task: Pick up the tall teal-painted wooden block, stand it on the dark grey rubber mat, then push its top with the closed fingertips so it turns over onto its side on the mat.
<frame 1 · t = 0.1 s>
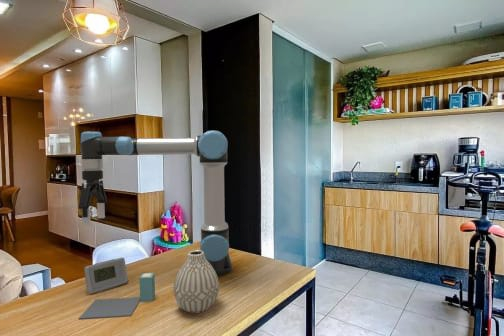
hand: (94, 221, 122), 28 cm above the table, fingers open, 13 cm apart
vase: (197, 307, 107), on the table
block: (147, 298, 114), on the table
mat: (112, 308, 107), on the table
digital clock: (107, 288, 124), on the table
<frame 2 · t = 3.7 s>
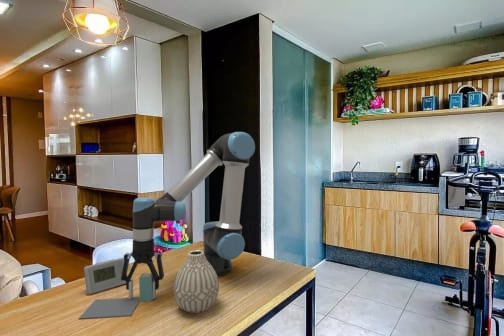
hand: (142, 297, 114), 1 cm above the table, fingers open, 8 cm apart
block: (147, 298, 114), on the table, touching gripper
everything else where it was.
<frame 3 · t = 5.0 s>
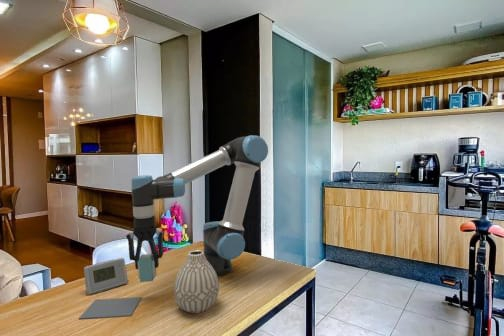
hand: (147, 276, 114), 8 cm above the table, fingers closed on block, 4 cm apart
block: (147, 279, 114), point 7 cm above the table, touching gripper
everything else where it was.
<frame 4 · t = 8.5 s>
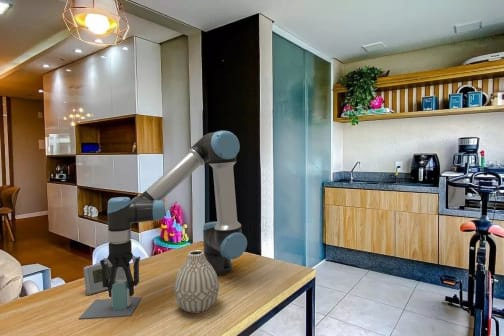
hand: (121, 304, 107), 1 cm above the table, fingers closed on block, 4 cm apart
block: (121, 306, 107), resting on mat, touching gripper
everything else where it was.
when the fingers open (1 cm above the table, at t = 8.5 s): block stays where it is, resting on mat.
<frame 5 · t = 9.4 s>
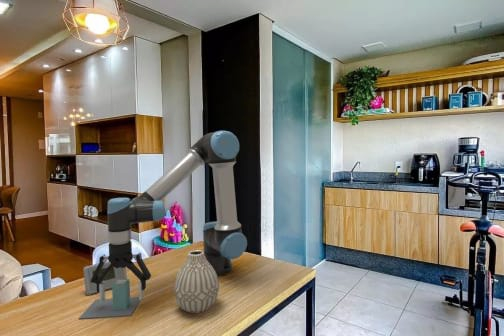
hand: (122, 299, 107), 3 cm above the table, fingers open, 13 cm apart
block: (121, 306, 107), resting on mat
everything else where it was.
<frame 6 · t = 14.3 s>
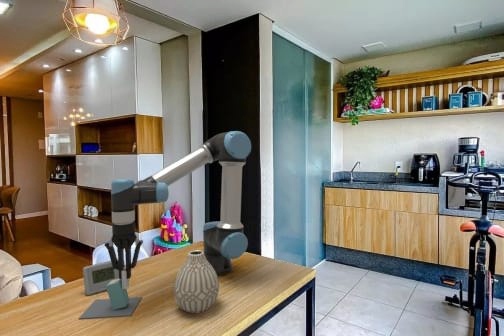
hand: (125, 287, 107), 7 cm above the table, fingers closed
block: (121, 305, 107), point 1 cm above the table, tilted 14°, touching mat
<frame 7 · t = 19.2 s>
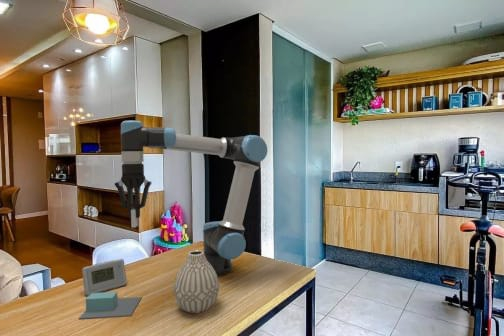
hand: (134, 226, 111), 28 cm above the table, fingers closed
block: (115, 300, 107), point 3 cm above the table, tilted 90°, touching mat
at the end: block tilted 90°; block inside the target area (1.6 cm from its centre), point 2.6 cm above the table; the gripper is holding nothing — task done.
